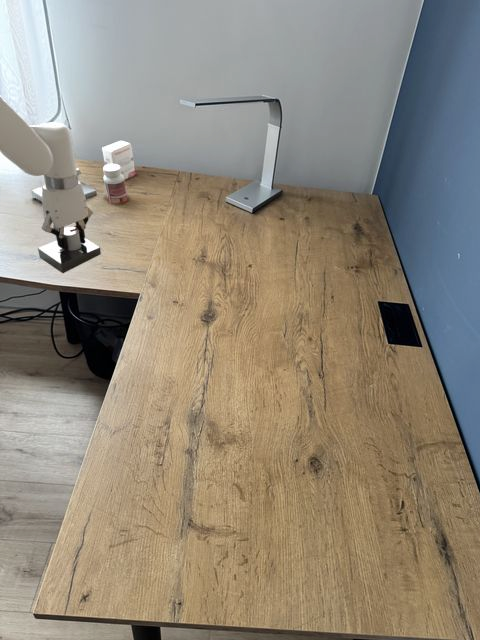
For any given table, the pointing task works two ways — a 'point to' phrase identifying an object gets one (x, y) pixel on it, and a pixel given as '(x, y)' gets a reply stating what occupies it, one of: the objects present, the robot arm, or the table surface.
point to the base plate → (68, 255)
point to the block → (87, 190)
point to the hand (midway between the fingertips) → (72, 244)
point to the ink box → (120, 157)
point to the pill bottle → (114, 184)
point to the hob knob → (72, 238)
